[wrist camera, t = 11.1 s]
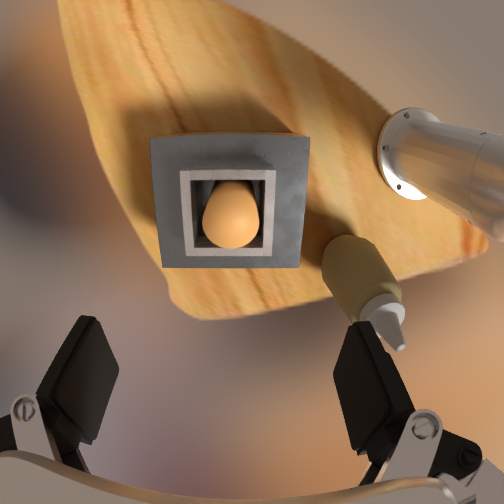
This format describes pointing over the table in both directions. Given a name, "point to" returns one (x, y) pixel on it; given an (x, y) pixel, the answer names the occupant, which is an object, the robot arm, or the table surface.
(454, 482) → the robot arm
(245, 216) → the orange cylinder
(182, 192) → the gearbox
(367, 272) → the squeeze bottle
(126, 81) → the table surface
